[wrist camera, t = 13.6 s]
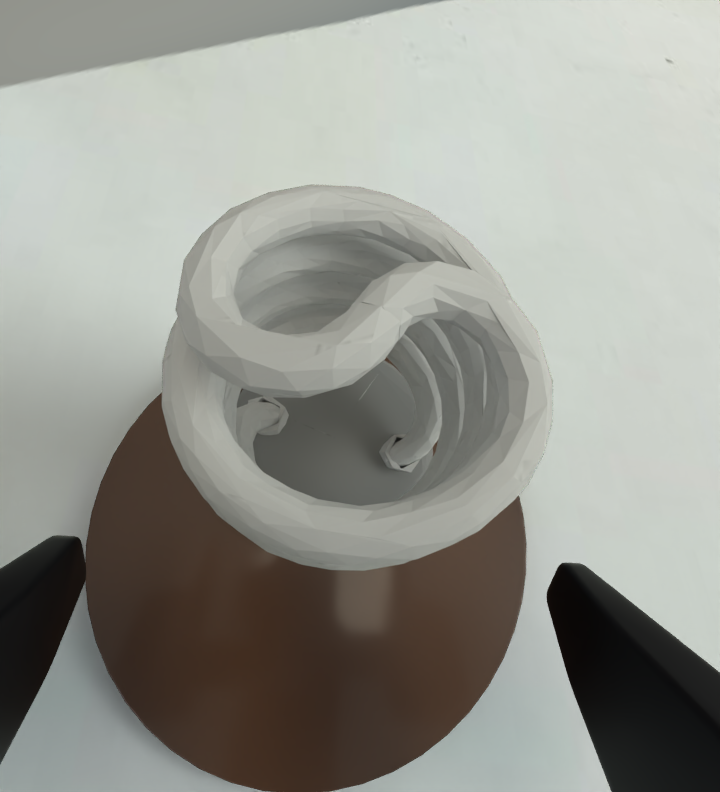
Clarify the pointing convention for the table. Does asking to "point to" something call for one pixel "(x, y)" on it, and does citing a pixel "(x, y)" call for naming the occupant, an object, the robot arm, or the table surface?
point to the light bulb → (351, 379)
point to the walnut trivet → (286, 632)
